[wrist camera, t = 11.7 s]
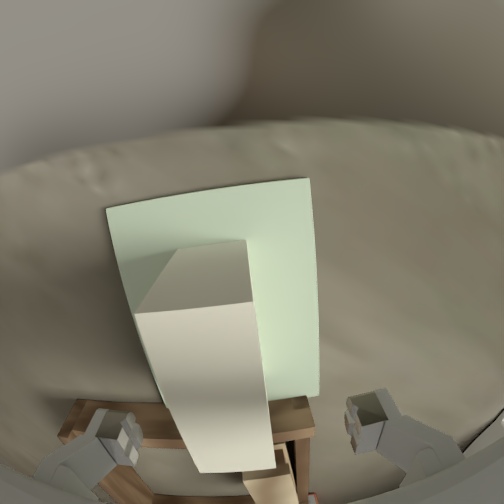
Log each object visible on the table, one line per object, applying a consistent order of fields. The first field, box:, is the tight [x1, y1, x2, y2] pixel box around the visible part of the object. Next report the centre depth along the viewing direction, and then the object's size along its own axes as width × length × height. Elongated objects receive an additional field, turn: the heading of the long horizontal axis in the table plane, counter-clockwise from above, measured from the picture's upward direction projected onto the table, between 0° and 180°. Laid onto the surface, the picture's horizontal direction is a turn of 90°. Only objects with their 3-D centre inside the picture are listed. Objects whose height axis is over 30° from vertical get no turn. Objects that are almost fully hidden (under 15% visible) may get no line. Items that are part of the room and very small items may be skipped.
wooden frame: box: [57, 395, 315, 504], centre depth 21 cm, size 20×20×5 cm
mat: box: [106, 178, 319, 408], centre depth 19 cm, size 12×16×1 cm
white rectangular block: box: [134, 240, 276, 473], centre depth 15 cm, size 4×10×8 cm, turn 7°
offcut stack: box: [242, 441, 299, 504], centre depth 22 cm, size 4×10×5 cm, turn 12°
